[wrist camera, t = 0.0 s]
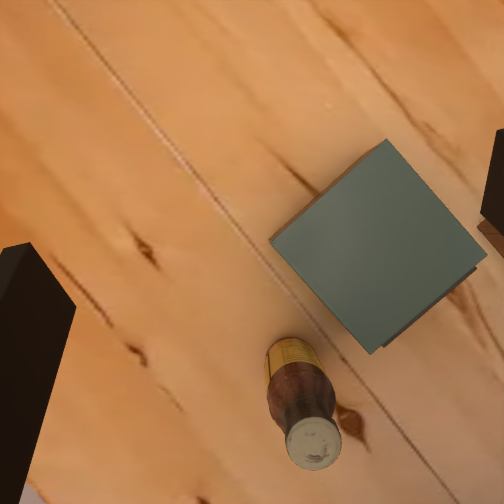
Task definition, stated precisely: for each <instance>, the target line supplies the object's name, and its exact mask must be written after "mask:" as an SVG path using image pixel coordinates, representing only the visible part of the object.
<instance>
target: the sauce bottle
mask: <svg viewBox="0 0 504 504" xmlns="http://www.w3.org/2000/svg"><path fill="white" fill-rule="evenodd" d="M265 379H266V391H267V400H268V404H269V410H270V414H271V416H272V418H273V420H275V422H276V424H277V425H278V426H279V427H280V428H281V429H282V431H283V433H284V434H285V444H286V448H287V452H288V454H289V456H290V457H291V459H292V461H293V462H294V463H295V464H296V465H298V466H300V467H301V468H303V469H307V470H312V471H315V470H320V469H323V468H326V467H328V466H329V465H331V464H333V462H334V461H335V460H336V459H337V458H338V456H339V454H340V451H341V444H342V442H341V435H340V432H339V429H338V427H337V424H336V423H335V421H334V420H333V419H332V418H331V417H332V415H333V413H334V410H335V405H336V397H335V392H334V389H333V386H332V384H331V382H330V380H329V378H328V376H327V375H326V373H325V371H324V369H323V367H322V365H321V363H320V361H319V359H318V357H317V355H316V353H315V351H314V350H313V349H312V348H311V347H310V346H309V345H308V344H307V343H305V342H304V341H303V340H300V339H297V338H296V339H295V338H283V339H280V340H279V341H277V342H276V343H275V344H274V345H273V346H272V347H271V348H270V349H269V350H268V352H267V355H266V359H265Z"/></svg>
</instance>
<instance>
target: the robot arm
mask: <svg viewBox="0 0 504 504" xmlns="http://www.w3.org/2000/svg"><path fill="white" fill-rule="evenodd" d="M480 213H481V214H482V215H483V216H484V217H485V218H486V219H487V221H488V222H489V223H490V224H491V225H492V226H493V227H494V228H495V229H496V230H497V231H498V232H499V233H500V234H501V235H502V236H503V237H504V129H500V130H497V132H496V137H495V142H494V147H493V151H492V156H491V161H490V166H489V171H488V176H487V181H486V186H485V191H484V196H483V201H482V206H481V211H480ZM75 310H76V305H75V304H74V303H73V301H72V300H71V298H70V297H69V296H68V294H67V293H66V292H65V290H64V289H63V287H62V286H61V285H60V283H59V282H58V280H57V279H56V278H55V276H54V275H53V274H52V272H51V271H50V269H49V268H48V267H47V265H46V264H45V262H44V261H43V260H42V258H41V257H40V256H39V254H38V253H37V251H36V250H35V249H34V247H33V246H32V244H31V243H30V242H28V243H24V244H20V245H16V246H11V247H7V248H4V249H3V251H2V252H1V254H0V504H19V501H20V498H21V495H22V491H23V488H24V484H25V481H26V478H27V474H28V471H29V467H30V464H31V460H32V457H33V454H34V450H35V447H36V443H37V440H38V437H39V433H40V430H41V426H42V423H43V420H44V416H45V413H46V409H47V406H48V403H49V399H50V396H51V392H52V389H53V385H54V382H55V379H56V375H57V372H58V368H59V365H60V362H61V358H62V355H63V351H64V348H65V345H66V341H67V338H68V334H69V331H70V328H71V324H72V321H73V317H74V314H75Z"/></svg>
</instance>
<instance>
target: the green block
mask: <svg viewBox="0 0 504 504" xmlns="http://www.w3.org/2000/svg"><path fill="white" fill-rule="evenodd" d="M269 242H270V244H271V245H272V246H273V247H274V248H275V249H276V250H277V252H278V253H279V254H280V255H281V256H282V257H283V258H284V259H285V260H286V262H287V263H288V264H289V265H290V266H291V267H292V268H293V269H294V271H295V272H296V273H297V274H298V275H299V276H300V277H301V278H302V279H303V281H304V282H305V283H306V284H307V285H308V286H309V287H310V288H311V290H312V291H313V292H314V293H315V294H316V295H317V296H318V297H319V298H320V300H321V301H322V302H323V303H324V304H325V305H326V306H327V307H328V309H329V310H330V311H331V312H332V313H333V314H334V315H335V316H336V318H337V319H338V320H339V321H340V322H341V323H342V324H343V325H344V326H345V328H346V329H347V330H348V331H349V332H350V333H351V334H352V335H353V337H354V338H355V339H356V340H357V341H358V342H359V343H360V344H361V345H362V347H363V348H364V349H365V350H366V351H367V352H368V353H369V354H370V355H371V354H372V353H373V352H374V351H375V350H377V349H378V348H379V347H380V346H381V345H382V346H383V348H385V347H386V346H387V345H388V344H389V343H390V342H392V341H393V340H394V339H395V338H396V337H397V336H399V335H400V334H401V333H402V332H403V331H405V330H406V329H407V328H408V327H409V326H410V325H412V324H413V323H414V322H415V321H416V320H418V319H419V318H420V317H421V316H422V315H423V314H425V313H426V312H427V311H428V310H429V309H430V308H432V307H433V306H434V305H435V304H436V303H438V302H439V301H440V300H441V299H442V298H443V297H445V296H446V295H447V294H448V293H449V292H451V291H452V290H453V289H454V288H455V287H456V286H458V285H459V284H460V283H461V282H462V281H463V280H465V279H466V278H467V277H468V276H469V275H471V274H472V273H473V272H474V271H475V270H476V269H477V268H476V266H475V265H477V264H478V263H479V262H480V261H481V260H482V259H484V258H485V257H486V256H487V253H486V252H485V251H484V250H483V249H482V248H481V247H480V245H479V244H478V243H477V242H476V241H475V240H474V238H473V237H472V236H471V235H470V234H469V233H468V232H467V230H466V229H465V228H464V227H463V226H462V225H461V224H460V222H459V221H458V220H457V219H456V218H455V217H454V215H453V214H452V213H451V212H450V211H449V210H448V209H447V207H446V206H445V205H444V204H443V203H442V202H441V200H440V199H439V198H438V197H437V196H436V195H435V194H434V192H433V191H432V190H431V189H430V188H429V187H428V185H427V184H426V183H425V182H424V181H423V180H422V179H421V177H420V176H419V175H418V174H417V173H416V172H415V170H414V169H413V168H412V167H411V166H410V165H409V164H408V162H407V161H406V160H405V159H404V158H403V157H402V156H401V154H400V153H399V152H398V151H397V150H396V149H395V147H394V146H393V145H392V144H391V143H390V142H389V141H388V139H385V140H384V141H383V142H381V143H380V144H378V145H377V146H375V147H374V148H372V149H371V150H369V151H368V152H366V153H365V154H364V155H363V156H361V157H360V158H359V159H358V160H357V161H356V162H355V163H354V164H352V165H351V166H350V167H349V168H348V169H347V170H346V171H345V172H343V173H342V174H341V175H340V176H339V177H338V178H337V179H336V180H335V181H333V182H332V183H331V184H330V185H329V186H328V187H327V188H326V189H324V190H323V191H322V192H321V193H320V194H319V195H318V196H317V197H315V198H314V199H313V200H312V201H311V202H310V203H309V204H308V205H306V206H305V207H304V208H303V209H302V210H301V211H300V212H299V213H298V214H296V215H295V216H294V217H293V218H292V219H291V220H290V221H289V222H287V223H286V224H285V225H284V226H283V227H282V228H281V229H280V230H278V231H277V232H276V233H275V234H274V235H273V236H272V237H271V238H270V239H269Z"/></svg>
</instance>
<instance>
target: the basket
mask: <svg viewBox="0 0 504 504" xmlns="http://www.w3.org/2000/svg"><path fill="white" fill-rule="evenodd" d="M477 227H478V229H479V230H480V231H481V232H482V233H483V234H484V235H485V237H486V238H487V239H488V240H489V241H490V242H491V244H492V245H493V246H494V247H495V248H496V249H497V250H498V252H499V253H500V254H501V255H502V256H503V257H504V237H503V236H502V235H501V234H500V233H499V232H498V231H497V230H496V229H495V228H494V227H493V226H492V225H491V224H490V223H489V222H488V221H487V219H485V220H484V221H483V222H482V223H481V224H480V225H478V226H477Z"/></svg>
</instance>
